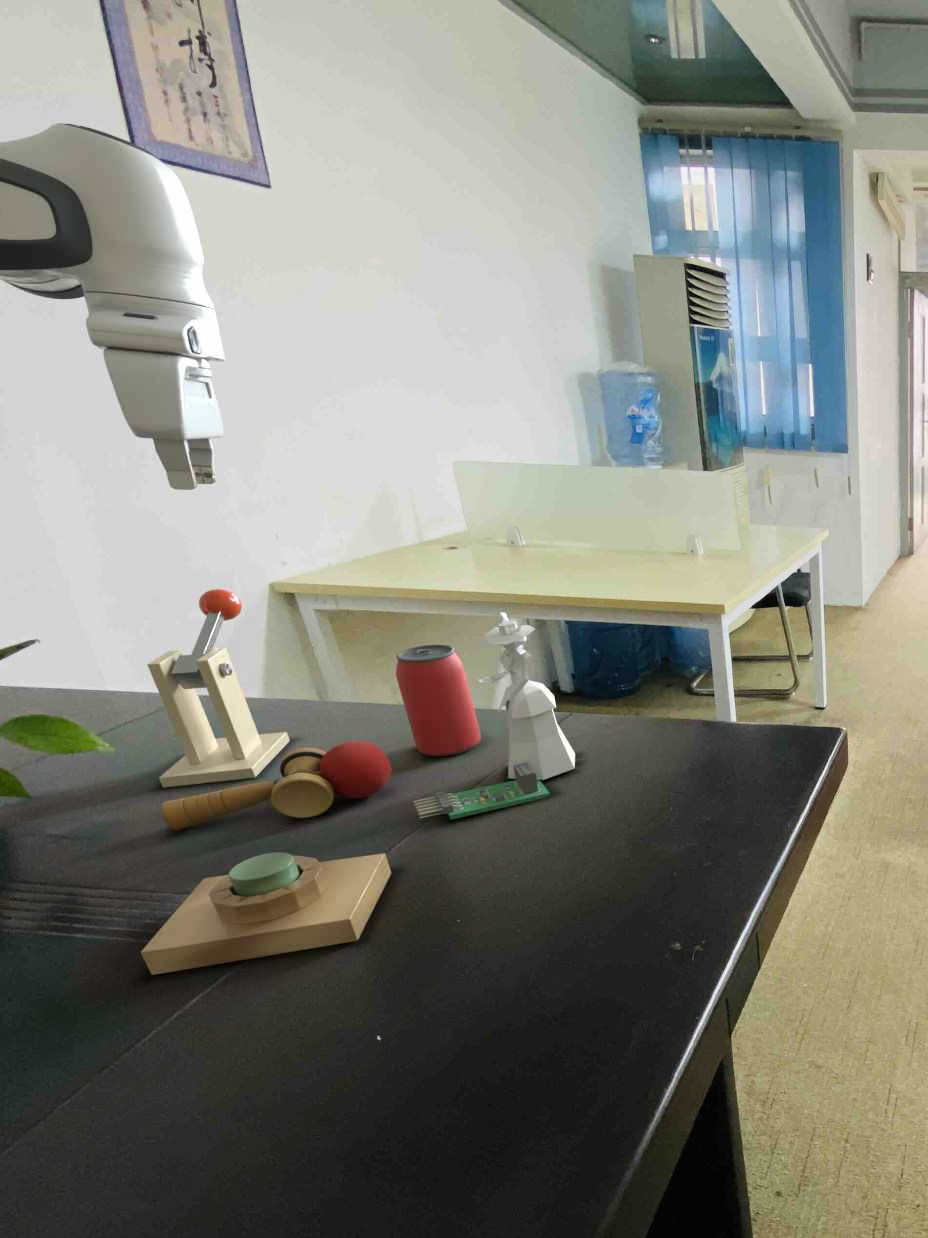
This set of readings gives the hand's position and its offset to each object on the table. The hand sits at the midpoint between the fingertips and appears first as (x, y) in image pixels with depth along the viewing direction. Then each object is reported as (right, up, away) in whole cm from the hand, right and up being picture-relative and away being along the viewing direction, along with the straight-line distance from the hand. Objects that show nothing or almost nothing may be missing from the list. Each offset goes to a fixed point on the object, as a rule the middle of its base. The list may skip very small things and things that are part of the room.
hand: (195, 486), depth 82 cm
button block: (+22, -41, -15) cm, 49 cm away
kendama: (+9, -33, +1) cm, 34 cm away
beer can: (+16, -27, +15) cm, 35 cm away
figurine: (+29, -29, +11) cm, 43 cm away
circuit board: (+27, -33, +4) cm, 43 cm away
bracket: (-5, -28, +10) cm, 30 cm away
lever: (-7, -15, +10) cm, 19 cm away
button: (+22, -37, -16) cm, 46 cm away
